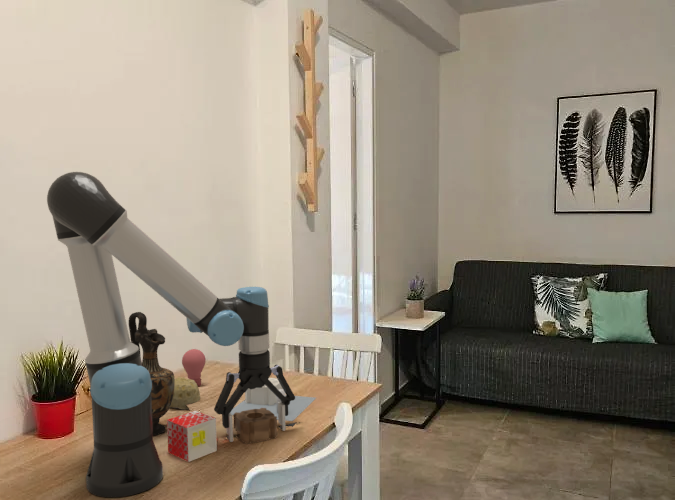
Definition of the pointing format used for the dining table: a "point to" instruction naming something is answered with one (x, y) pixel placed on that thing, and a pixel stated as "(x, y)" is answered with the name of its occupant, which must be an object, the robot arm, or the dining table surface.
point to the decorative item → (184, 393)
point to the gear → (262, 394)
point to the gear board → (291, 408)
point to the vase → (153, 368)
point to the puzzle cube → (191, 435)
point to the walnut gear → (255, 425)
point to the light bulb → (194, 364)
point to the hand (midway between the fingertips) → (256, 434)
